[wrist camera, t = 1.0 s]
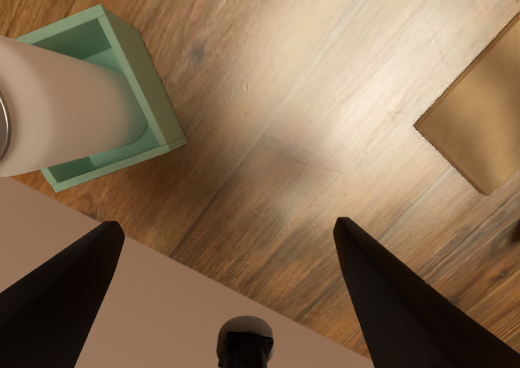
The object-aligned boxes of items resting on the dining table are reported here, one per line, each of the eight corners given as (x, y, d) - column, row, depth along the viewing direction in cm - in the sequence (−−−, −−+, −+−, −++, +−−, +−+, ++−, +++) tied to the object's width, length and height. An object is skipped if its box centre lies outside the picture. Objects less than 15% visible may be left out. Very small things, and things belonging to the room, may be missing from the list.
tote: (188, 142, 21) (170, 151, 17) (97, 175, 22) (55, 192, 17) (138, 31, 18) (99, 3, 14) (35, 72, 19) (-37, 59, 14)
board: (480, 193, 25) (488, 196, 24) (413, 125, 22) (418, 126, 21) (599, 86, 22) (612, 85, 21) (538, -8, 19) (550, -13, 18)
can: (59, 109, 19) (-209, 106, 8) (101, 50, 18) (-145, -51, 7) (122, 160, 21) (-26, 217, 10) (165, 109, 20) (52, 106, 8)
